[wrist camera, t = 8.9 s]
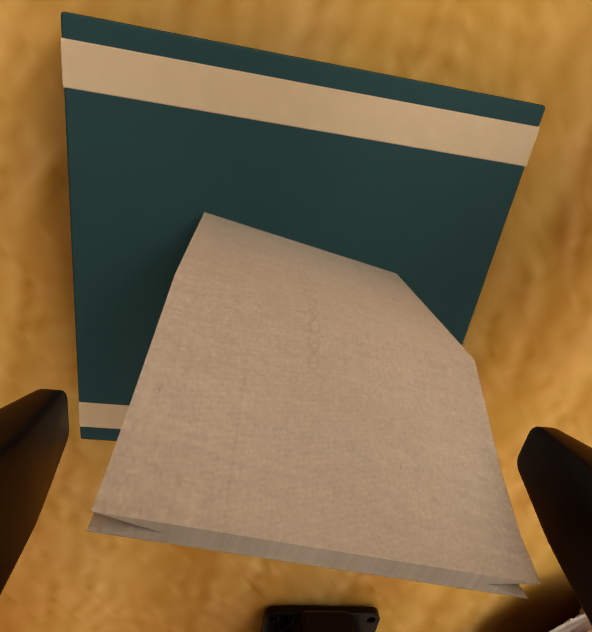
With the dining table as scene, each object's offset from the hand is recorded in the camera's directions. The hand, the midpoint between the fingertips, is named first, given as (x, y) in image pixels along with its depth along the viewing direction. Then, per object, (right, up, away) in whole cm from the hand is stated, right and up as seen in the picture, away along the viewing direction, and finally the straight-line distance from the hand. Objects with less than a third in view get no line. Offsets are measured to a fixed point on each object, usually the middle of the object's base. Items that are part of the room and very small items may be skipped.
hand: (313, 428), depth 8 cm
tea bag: (-1, +3, +7) cm, 8 cm away
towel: (-1, +4, +8) cm, 9 cm away
